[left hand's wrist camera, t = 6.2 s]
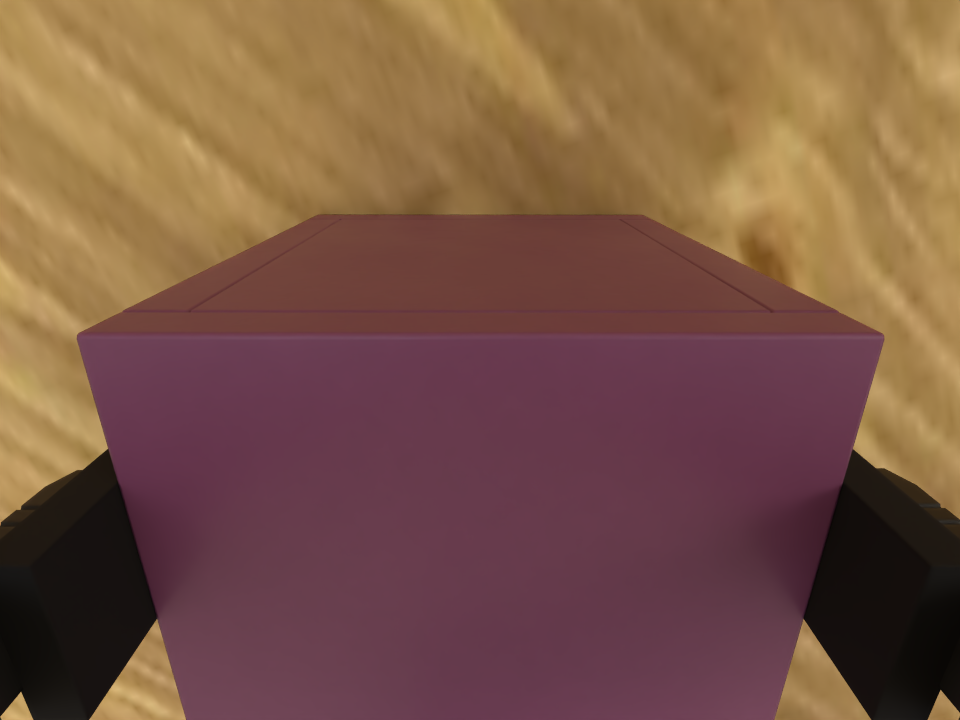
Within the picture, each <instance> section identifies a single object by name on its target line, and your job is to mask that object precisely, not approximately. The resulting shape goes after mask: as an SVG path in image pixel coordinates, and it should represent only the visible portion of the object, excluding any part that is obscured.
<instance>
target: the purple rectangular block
mask: <svg viewBox="0 0 960 720" xmlns="http://www.w3.org/2000/svg"><path fill="white" fill-rule="evenodd" d="M77 341H78V345H79V348H80V352H81V355H82V359H83V362H84V366H85V369H86V373H87V376H88V380H89V383H90V387H91V390H92V393H93V397H94V400H95V404H96V407H97V411H98V414H99V418H100V421H101V425H102V428H103V432H104V435H105V439H106V442H107V446H108V449H109V453H110V456H111V460H112V463H113V466H114V470H115V473H116V477H117V480H118V484H119V487H120V491H121V494H122V498H123V501H124V505H125V508H126V512H127V515H128V519H129V522H130V526H131V529H132V533H133V536H134V540H135V543H136V546H137V550H138V553H139V557H140V560H141V564H142V567H143V571H144V574H145V578H146V581H147V585H148V588H149V592H150V595H151V599H152V602H153V606H154V609H155V613H156V616H157V619H158V623H159V626H160V630H161V633H162V637H163V640H164V644H165V647H166V651H167V654H168V658H169V661H170V665H171V668H172V672H173V675H174V679H175V682H176V686H177V689H178V692H179V696H180V699H181V703H182V706H183V710H184V713H185V717H186V720H774V719H775V715H776V712H777V708H778V705H779V701H780V698H781V695H782V691H783V688H784V684H785V681H786V677H787V674H788V670H789V667H790V663H791V660H792V657H793V653H794V650H795V646H796V643H797V639H798V636H799V632H800V629H801V625H802V622H803V619H804V615H805V612H806V608H807V605H808V601H809V598H810V594H811V591H812V588H813V584H814V581H815V577H816V574H817V570H818V567H819V563H820V560H821V556H822V553H823V550H824V546H825V543H826V539H827V536H828V532H829V529H830V525H831V522H832V518H833V515H834V512H835V508H836V505H837V501H838V498H839V494H840V491H841V487H842V484H843V481H844V477H845V474H846V470H847V467H848V463H849V460H850V456H851V453H852V449H853V446H854V443H855V439H856V436H857V432H858V429H859V425H860V422H861V418H862V415H863V411H864V408H865V405H866V401H867V398H868V394H869V391H870V387H871V384H872V380H873V377H874V374H875V370H876V367H877V363H878V360H879V356H880V353H881V349H882V346H883V342H884V335H883V334H882V333H880V332H878V331H876V330H874V329H872V328H870V327H868V326H866V325H864V324H862V323H860V322H858V321H856V320H854V319H852V318H850V317H848V316H846V315H844V314H841V313H839V312H838V311H837V310H835V309H833V308H831V307H829V306H827V305H825V304H823V303H821V302H819V301H817V300H814V299H812V298H810V297H808V296H806V295H804V294H802V293H800V292H798V291H796V290H794V289H792V288H790V287H788V286H786V285H784V284H782V283H780V282H778V281H776V280H774V279H772V278H770V277H768V276H766V275H764V274H762V273H760V272H757V271H755V270H753V269H751V268H749V267H747V266H745V265H743V264H741V263H739V262H737V261H735V260H733V259H731V258H729V257H727V256H725V255H723V254H721V253H719V252H717V251H715V250H713V249H711V248H709V247H707V246H705V245H703V244H700V243H698V242H696V241H694V240H692V239H690V238H688V237H686V236H684V235H682V234H680V233H678V232H676V231H674V230H672V229H670V228H668V227H666V226H664V225H662V224H660V223H658V222H656V221H654V220H652V219H650V218H648V217H646V216H644V215H317V216H315V217H313V218H311V219H309V220H307V221H305V222H303V223H301V224H298V225H296V226H294V227H292V228H290V229H288V230H286V231H284V232H282V233H280V234H278V235H276V236H274V237H272V238H270V239H268V240H266V241H264V242H262V243H260V244H258V245H256V246H254V247H252V248H250V249H248V250H246V251H244V252H241V253H239V254H237V255H235V256H233V257H231V258H229V259H227V260H225V261H223V262H221V263H219V264H217V265H215V266H213V267H211V268H209V269H207V270H205V271H203V272H201V273H199V274H197V275H195V276H193V277H191V278H189V279H187V280H185V281H182V282H180V283H178V284H176V285H174V286H172V287H170V288H168V289H166V290H164V291H162V292H160V293H158V294H156V295H154V296H152V297H150V298H148V299H146V300H144V301H142V302H140V303H138V304H136V305H134V306H132V307H130V308H128V309H125V310H123V312H121V313H119V314H117V315H115V316H113V317H111V318H108V319H106V320H104V321H102V322H100V323H98V324H96V325H94V326H92V327H90V328H88V329H86V330H84V331H82V332H80V333H78V335H77Z"/></svg>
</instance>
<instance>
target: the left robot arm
mask: <svg viewBox="0 0 960 720" xmlns="http://www.w3.org/2000/svg"><path fill="white" fill-rule="evenodd" d="M156 619H157V616H156V613H155V609H154V606H153V602H152V599H151V595H150V592H149V588H148V585H147V581H146V578H145V574H144V571H143V567H142V564H141V560H140V557H139V553H138V550H137V546H136V543H135V540H134V536H133V533H132V529H131V526H130V522H129V519H128V515H127V512H126V508H125V505H124V501H123V498H122V494H121V491H120V487H119V484H118V480H117V477H116V473H115V470H114V466H113V463H112V460H111V456H110V453H109V449H107V450H106V451H105V452H104V453H103V454H101V455H100V456H99V457H98V458H97V459H95V460H94V461H93V462H92V463H91V464H89V465H88V466H87V467H86V468H85V469H84V470H77V471H75V472H73V473H71V474H69V475H67V476H65V477H63V478H61V479H59V480H57V481H56V482H54V483H52V484H50V485H48V486H46V487H44V488H43V489H42V490H41V491H39V492H38V493H37V494H36V495H35V496H33V497H32V498H31V499H30V500H28V501H27V502H26V503H25V504H23V505H22V506H21V510H16V511H15V512H13V513H12V514H11V515H10V516H8V517H7V518H6V519H5V520H3V521H2V522H1V526H0V716H1V715H2V714H3V713H4V711H5V710H6V709H7V708H8V707H9V705H10V704H11V703H12V702H13V701H14V699H15V698H16V697H17V696H18V695H19V693H20V692H22V694H23V697H24V699H25V701H26V704H27V706H28V708H29V711H30V713H31V715H32V718H33V720H89V719H90V718H91V716H92V715H93V713H94V712H95V710H96V709H97V707H98V706H99V704H100V703H101V701H102V700H103V698H104V697H105V695H106V694H107V692H108V691H109V689H110V688H111V686H112V685H113V683H114V682H115V680H116V679H117V677H118V676H119V674H120V673H121V671H122V670H123V669H124V667H125V666H126V664H127V663H128V661H129V660H130V658H131V657H132V655H133V654H134V652H135V651H136V649H137V648H138V646H139V645H140V643H141V642H142V640H143V639H144V637H145V636H146V634H147V633H148V631H149V630H150V628H151V627H152V625H153V624H154V622H155V621H156ZM804 620H805V621H806V623H807V624H808V626H809V627H810V629H811V630H812V632H813V633H814V635H815V636H816V638H817V639H818V641H819V642H820V644H821V645H822V647H823V648H824V650H825V651H826V653H827V654H828V656H829V657H830V659H831V660H832V662H833V663H834V665H835V666H836V668H837V669H838V671H839V672H840V674H841V675H842V677H843V678H844V680H845V681H846V682H847V684H848V685H849V687H850V688H851V690H852V691H853V693H854V694H855V696H856V697H857V699H858V700H859V702H860V703H861V705H862V706H863V708H864V709H865V711H866V712H867V714H868V715H869V717H870V718H871V720H928V717H929V715H930V713H931V710H932V708H933V706H934V703H935V701H936V699H937V696H938V694H939V692H940V690H941V691H942V692H943V693H944V694H945V695H946V697H947V698H948V699H949V700H950V701H951V703H952V704H953V705H954V706H955V707H956V709H957V710H958V711H959V712H960V520H959V519H958V518H957V517H956V516H954V515H953V514H952V513H951V512H949V511H948V510H947V509H946V508H941V507H940V504H939V503H938V502H937V501H936V500H934V499H933V498H932V497H931V496H929V495H928V494H927V493H926V492H924V491H923V490H922V489H921V488H919V487H918V486H917V485H915V484H913V483H911V482H910V481H908V480H906V479H904V478H902V477H900V476H898V475H896V474H894V473H892V472H890V471H888V470H886V469H884V468H875V467H874V466H872V465H871V464H870V463H869V462H868V461H866V460H865V459H864V458H863V457H862V456H860V455H859V454H858V453H857V452H856V451H854V450H853V449H852V453H851V456H850V460H849V463H848V467H847V470H846V474H845V477H844V481H843V484H842V487H841V491H840V494H839V498H838V501H837V505H836V508H835V512H834V515H833V518H832V522H831V525H830V529H829V532H828V536H827V539H826V543H825V546H824V550H823V553H822V556H821V560H820V563H819V567H818V570H817V574H816V577H815V581H814V584H813V588H812V591H811V594H810V598H809V601H808V605H807V608H806V612H805V615H804ZM0 720H1V718H0ZM959 720H960V718H959Z"/></svg>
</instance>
